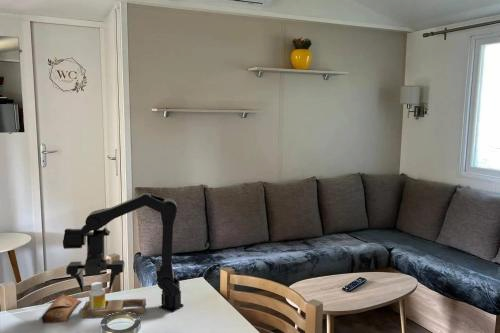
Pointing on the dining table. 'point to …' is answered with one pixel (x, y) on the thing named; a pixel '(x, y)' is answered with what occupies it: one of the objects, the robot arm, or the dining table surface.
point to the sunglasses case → (60, 309)
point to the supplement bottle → (97, 297)
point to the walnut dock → (115, 308)
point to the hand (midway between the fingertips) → (96, 290)
